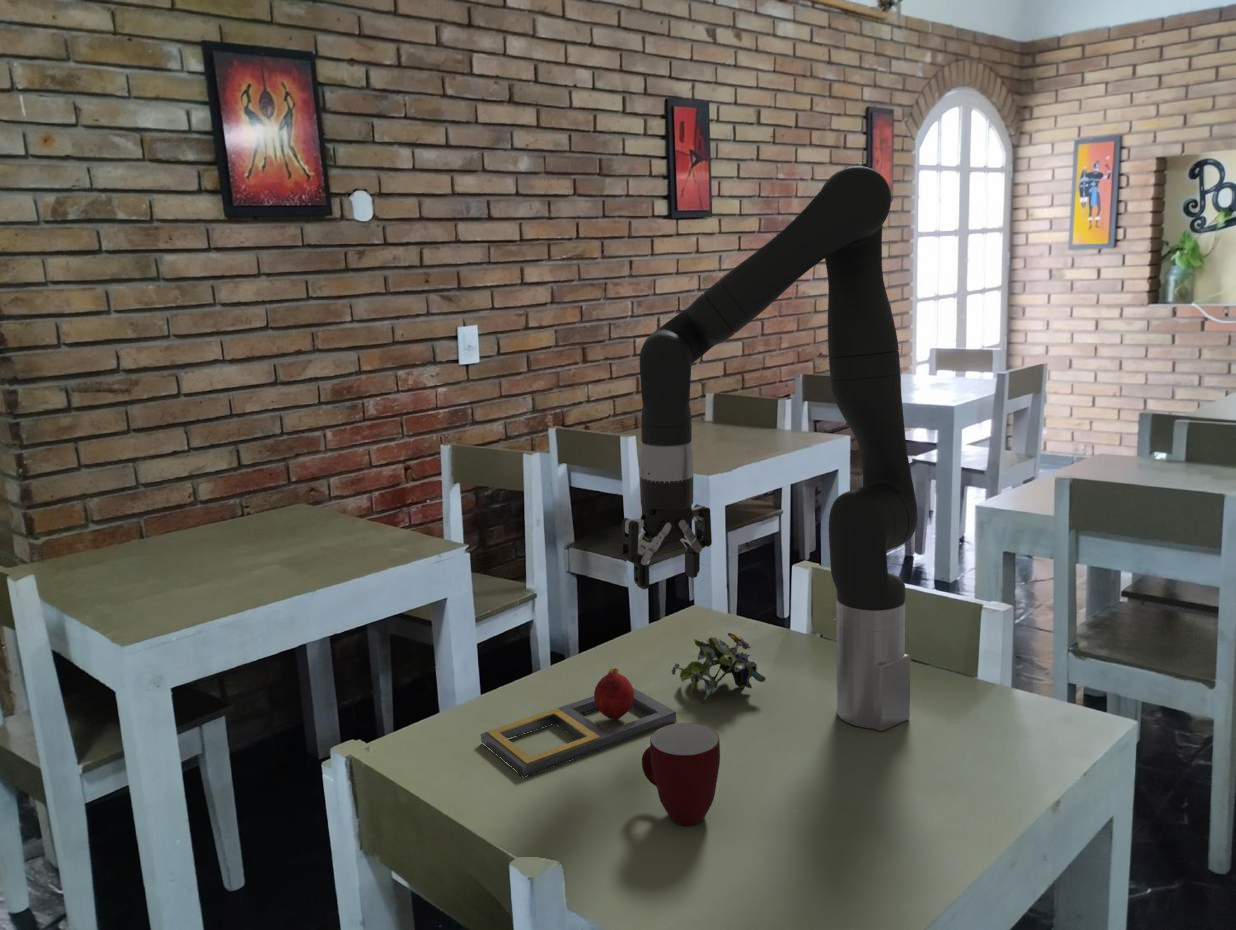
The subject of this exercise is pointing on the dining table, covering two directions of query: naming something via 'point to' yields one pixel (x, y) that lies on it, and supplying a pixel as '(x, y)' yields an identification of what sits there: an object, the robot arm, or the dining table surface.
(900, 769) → the dining table surface
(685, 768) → the mug
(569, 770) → the dining table surface
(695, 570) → the robot arm
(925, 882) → the dining table surface
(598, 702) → the onion
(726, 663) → the passion flower
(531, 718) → the grey yellow flat frame
